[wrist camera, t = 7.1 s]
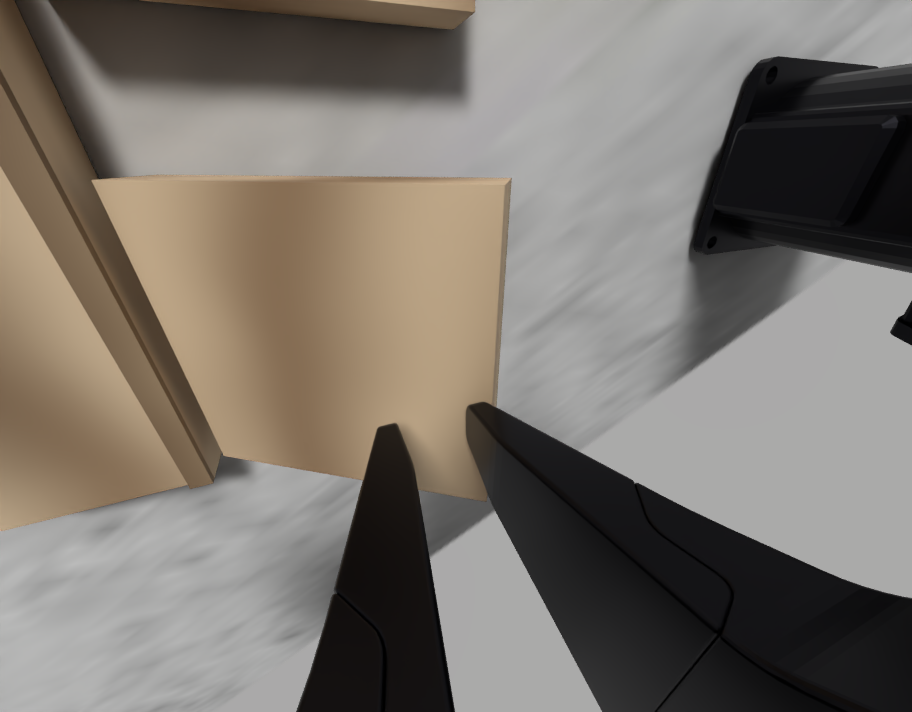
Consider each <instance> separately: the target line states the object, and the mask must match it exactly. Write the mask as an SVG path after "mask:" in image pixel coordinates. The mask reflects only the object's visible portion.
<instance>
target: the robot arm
mask: <svg viewBox="0 0 912 712" xmlns="http://www.w3.org/2000/svg"><path fill="white" fill-rule="evenodd" d="M776 245H779V246H784V247H788V248H793V249H798V250H803V251H808V252H813V253H817V254H822V255H827V256H832V257H837V258H842V259H846V260H851V261H856V262H861V263H866V264H870V265H875V266H880V267H885V268H890V269H895V270H900V271H904V272H909V273H912V64H905V65H898V66H890V67H883V68H878V67H877V66H868V65H858V64H848V63H838V62H828V61H818V60H808V59H799V58H789V57H779V56H778V57H773V58H768V59H763V60H761V61H759V62H758V63H757V64H756V65H755V67H754V68H753V70H752V72H751V74H750V76H749V79H748V82H747V85H746V88H745V91H744V94H743V97H742V100H741V103H740V106H739V109H738V112H737V115H736V118H735V121H734V124H733V127H732V130H731V133H730V136H729V139H728V142H727V145H726V148H725V151H724V154H723V157H722V160H721V163H720V166H719V169H718V172H717V175H716V178H715V181H714V184H713V187H712V190H711V193H710V197H709V200H708V203H707V206H706V209H705V212H704V215H703V218H702V221H701V224H700V227H699V230H698V233H697V236H696V239H695V242H694V250H695V251H696V252H699V253H703V254H715V253H723V252H730V251H738V250H745V249H753V248H761V247H768V246H776ZM890 333H891V334H892V335H893V336H895V337H897V338H899V339H901V340H903V341H904V342H906V343H908V344H910V345H912V301H911V303H910V305H909V307H908V308H907V310H906V312H905V314H904V315H902V316H900V317H899V318H898V319H897V320H896V322H895V324H894V326H893V328H892V330H891V331H890ZM466 438H467V442H468V445H469V447H470V450H471V453H472V455H473V458H474V460H475V463H476V465H477V468H478V470H479V473H480V475H481V478H482V480H483V483H484V486H485V488H486V491H487V493H488V496H489V498H490V500H491V503H492V505H493V507H494V509H495V511H496V513H497V515H498V517H499V519H500V521H501V522H502V524H503V526H504V528H505V530H506V532H507V534H508V535H509V537H510V539H511V541H512V543H513V545H514V547H515V549H516V551H517V552H518V554H519V556H520V558H521V560H522V562H523V564H524V566H525V567H526V569H527V571H528V573H529V575H530V577H531V579H532V581H533V583H534V584H535V586H536V588H537V590H538V592H539V594H540V596H541V597H542V599H543V601H544V603H545V605H546V607H547V609H548V611H549V612H550V614H551V616H552V618H553V620H554V622H555V624H556V626H557V628H558V629H559V631H560V633H561V635H562V637H563V639H564V641H565V643H566V645H567V646H568V648H569V650H570V652H571V654H572V656H573V658H574V659H575V661H576V663H577V665H578V667H579V669H580V671H581V673H582V674H583V676H584V678H585V680H586V682H587V684H588V686H589V688H590V689H591V691H592V693H593V695H594V697H595V699H596V701H597V703H598V705H599V706H600V708H601V710H602V712H912V598H907V597H902V596H897V595H893V594H888V593H884V592H881V591H878V590H874V589H871V588H867V587H864V586H861V585H858V584H855V583H852V582H850V581H847V580H844V579H841V578H839V577H837V576H834V575H832V574H829V573H827V572H825V571H822V570H820V569H818V568H816V567H814V566H811V565H809V564H807V563H805V562H802V561H800V560H798V559H796V558H793V557H791V556H789V555H787V554H785V553H782V552H780V551H778V550H776V549H773V548H771V547H769V546H767V545H764V544H763V543H760V542H758V541H756V540H754V539H752V538H749V537H747V536H745V535H743V534H740V533H738V532H736V531H734V530H731V529H729V528H727V527H725V526H723V525H721V524H719V523H717V522H714V521H712V520H710V519H708V518H706V517H704V516H702V515H700V514H697V513H695V512H693V511H691V510H689V509H687V508H685V507H683V506H681V505H679V504H677V503H675V502H673V501H671V500H669V499H667V498H666V497H664V496H661V495H660V494H658V493H656V492H654V491H652V490H650V489H648V488H647V487H645V486H643V485H641V484H639V483H634V481H633V480H631V479H629V478H628V477H626V476H624V475H622V474H620V473H618V472H616V471H614V470H613V469H611V468H609V467H607V466H605V465H603V464H601V463H599V462H597V461H596V460H594V459H592V458H590V457H588V456H586V455H584V454H583V453H581V452H579V451H577V450H575V449H573V448H571V447H569V446H568V445H566V444H564V443H562V442H560V441H558V440H556V439H555V438H553V437H551V436H549V435H547V434H545V433H543V432H541V431H540V430H538V429H536V428H534V427H532V426H530V425H528V424H526V423H525V422H523V421H521V420H519V419H517V418H515V417H513V416H511V415H510V414H508V413H506V412H504V411H502V410H500V409H498V408H496V407H495V406H493V405H491V404H489V403H487V402H478V403H474V404H470V405H468V406H467V409H466ZM334 592H335V594H333V595H332V597H331V601H330V605H329V608H328V612H327V616H326V620H325V623H324V627H323V630H322V634H321V637H320V640H319V644H318V647H317V650H316V654H315V657H314V661H313V664H312V667H311V671H310V674H309V677H308V679H307V682H306V685H305V688H304V691H303V694H302V697H301V699H300V702H299V705H298V708H297V711H296V712H455V709H454V703H453V697H452V691H451V685H450V679H449V673H448V667H447V661H446V655H445V649H444V643H443V636H442V631H441V625H440V618H439V613H438V607H437V600H436V594H435V588H434V582H433V577H432V570H431V564H430V558H429V552H428V546H427V540H426V534H425V528H424V522H423V516H422V510H421V504H420V498H419V492H418V486H417V480H416V474H415V469H414V464H413V461H412V458H411V456H410V453H409V451H408V448H407V446H406V443H405V441H404V438H403V436H402V433H401V431H400V428H399V426H398V424H397V423H391V424H387V425H383V426H379V427H378V428H377V430H376V434H375V438H374V441H373V445H372V449H371V452H370V456H369V460H368V464H367V467H366V471H365V475H364V479H363V482H362V486H361V490H360V494H359V497H358V501H357V505H356V509H355V512H354V516H353V520H352V524H351V527H350V531H349V535H348V539H347V542H346V546H345V550H344V553H343V557H342V561H341V565H340V568H339V572H338V576H337V580H336V583H335V587H334Z"/></svg>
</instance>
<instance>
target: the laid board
mask: <svg viewBox="0 0 912 712" xmlns="http://www.w3.org/2000/svg"><path fill="white" fill-rule="evenodd" d="M96 179H98V177H97V175H96V173H95V171H94V169H93V167H92V164H91V162H90V160H89V158H88V156H87V154H86V152H85V150H84V147H83V145H82V143H81V141H80V139H79V137H78V135H77V133H76V130H75V128H74V126H73V124H72V122H71V120H70V118H69V116H68V113H67V111H66V109H65V107H64V105H63V103H62V101H61V99H60V96H59V94H58V92H57V90H56V88H55V86H54V84H53V82H52V79H51V77H50V75H49V73H48V71H47V69H46V67H45V65H44V63H43V60H42V58H41V56H40V54H39V52H38V50H37V48H36V46H35V43H34V41H33V39H32V37H31V35H30V33H29V31H28V29H27V26H26V24H25V22H24V20H23V18H22V16H21V14H20V12H19V9H18V7H17V5H16V3H15V1H14V0H0V531H4V530H8V529H12V528H16V527H20V526H24V525H29V524H33V523H37V522H41V521H45V520H49V519H53V518H57V517H61V516H65V515H69V514H73V513H77V512H81V511H85V510H89V509H93V508H97V507H101V506H105V505H109V504H113V503H117V502H121V501H125V500H129V499H133V498H137V497H141V496H145V495H149V494H153V493H157V492H161V491H165V490H169V489H173V488H177V487H181V486H185V485H188V486H189V488H190V489H192V488H196V487H200V486H204V485H208V484H212V483H213V482H214V478H215V475H216V471H217V467H218V464H219V460H220V457H221V453H222V451H221V449H220V447H219V445H218V443H217V440H216V438H215V436H214V434H213V432H212V430H211V428H210V426H209V424H208V422H207V420H206V418H205V415H204V413H203V411H202V409H201V407H200V405H199V403H198V401H197V399H196V397H195V395H194V393H193V391H192V388H191V386H190V384H189V382H188V380H187V378H186V376H185V374H184V372H183V370H182V368H181V366H180V363H179V361H178V359H177V357H176V355H175V353H174V351H173V349H172V347H171V345H170V343H169V341H168V338H167V336H166V334H165V332H164V330H163V328H162V326H161V324H160V322H159V320H158V318H157V316H156V314H155V311H154V309H153V307H152V305H151V303H150V301H149V299H148V297H147V295H146V293H145V291H144V289H143V286H142V284H141V282H140V280H139V278H138V276H137V274H136V272H135V270H134V268H133V266H132V264H131V262H130V259H129V257H128V255H127V253H126V251H125V249H124V247H123V245H122V243H121V241H120V239H119V237H118V234H117V232H116V230H115V228H114V226H113V224H112V222H111V220H110V218H109V216H108V214H107V212H106V209H105V207H104V205H103V203H102V201H101V199H100V197H99V195H98V193H97V191H96V189H95V187H94V185H93V182H92V180H96Z"/></svg>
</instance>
